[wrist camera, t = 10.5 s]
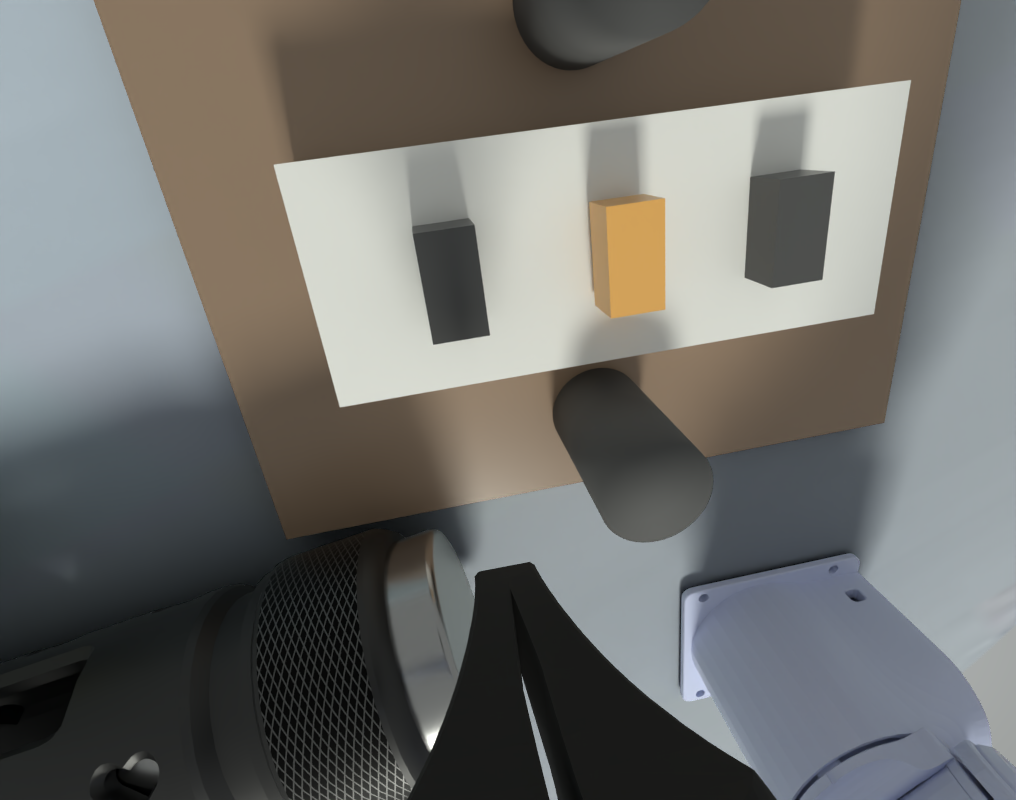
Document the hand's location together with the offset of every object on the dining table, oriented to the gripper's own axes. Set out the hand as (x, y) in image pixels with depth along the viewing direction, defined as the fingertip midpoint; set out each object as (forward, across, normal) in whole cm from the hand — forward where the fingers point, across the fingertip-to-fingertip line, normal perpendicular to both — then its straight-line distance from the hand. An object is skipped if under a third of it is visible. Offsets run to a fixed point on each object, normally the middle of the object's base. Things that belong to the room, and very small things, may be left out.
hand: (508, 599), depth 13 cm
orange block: (+6, -5, -6) cm, 10 cm away
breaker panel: (+10, -5, -6) cm, 13 cm away
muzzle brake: (+7, +14, +15) cm, 21 cm away
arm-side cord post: (+9, -5, 0) cm, 11 cm away
